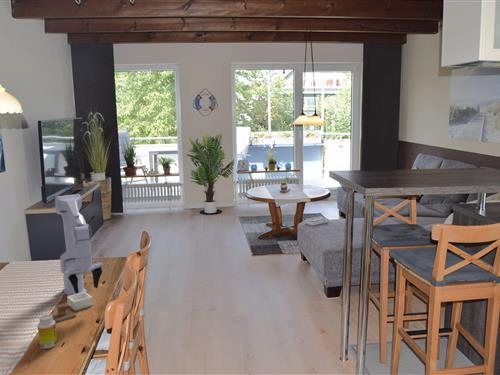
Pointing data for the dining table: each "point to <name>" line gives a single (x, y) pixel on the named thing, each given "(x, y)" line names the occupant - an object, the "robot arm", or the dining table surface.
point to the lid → (62, 314)
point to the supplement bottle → (47, 332)
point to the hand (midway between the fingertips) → (86, 290)
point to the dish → (80, 301)
